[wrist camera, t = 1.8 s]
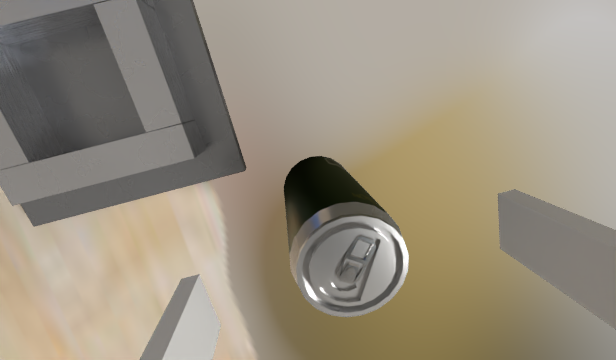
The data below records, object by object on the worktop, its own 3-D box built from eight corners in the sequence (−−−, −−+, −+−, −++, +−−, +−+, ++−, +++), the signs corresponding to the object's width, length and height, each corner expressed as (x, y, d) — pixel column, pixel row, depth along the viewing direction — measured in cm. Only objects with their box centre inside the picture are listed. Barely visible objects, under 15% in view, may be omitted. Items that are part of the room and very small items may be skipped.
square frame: (246, 167, 23) (240, 181, 19) (44, 221, 22) (-5, 246, 18) (169, -73, 18) (141, -118, 14) (-89, -12, 18) (-191, -43, 14)
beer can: (298, 144, 23) (321, 191, 11) (358, 168, 24) (436, 234, 12) (273, 204, 24) (271, 302, 12) (332, 224, 25) (379, 333, 13)
